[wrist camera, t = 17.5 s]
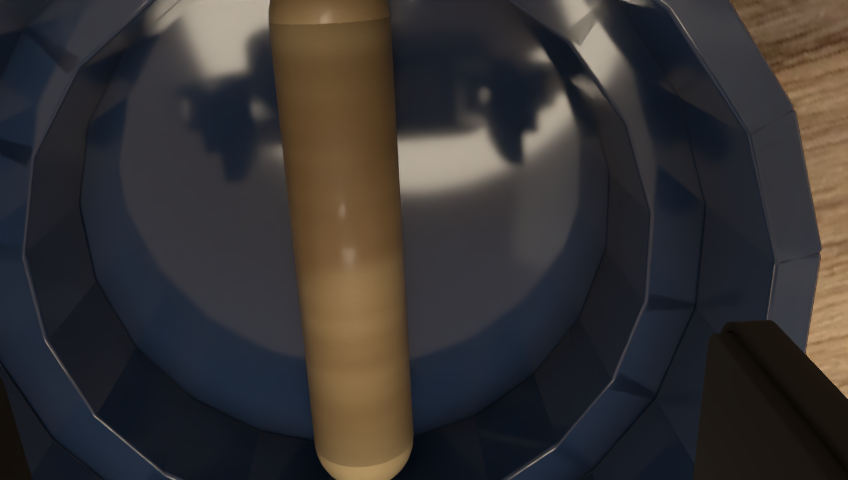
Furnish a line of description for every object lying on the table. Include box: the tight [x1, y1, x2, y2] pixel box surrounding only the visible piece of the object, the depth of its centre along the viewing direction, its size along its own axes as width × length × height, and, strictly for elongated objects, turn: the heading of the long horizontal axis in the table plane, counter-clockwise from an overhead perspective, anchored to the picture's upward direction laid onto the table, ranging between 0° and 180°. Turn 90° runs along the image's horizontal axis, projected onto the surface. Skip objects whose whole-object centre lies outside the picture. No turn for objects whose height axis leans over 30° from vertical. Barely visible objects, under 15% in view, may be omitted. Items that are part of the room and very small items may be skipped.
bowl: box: [0, 0, 822, 480], centre depth 16 cm, size 16×16×6 cm
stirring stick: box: [269, 0, 414, 480], centre depth 17 cm, size 12×2×2 cm, turn 2°
